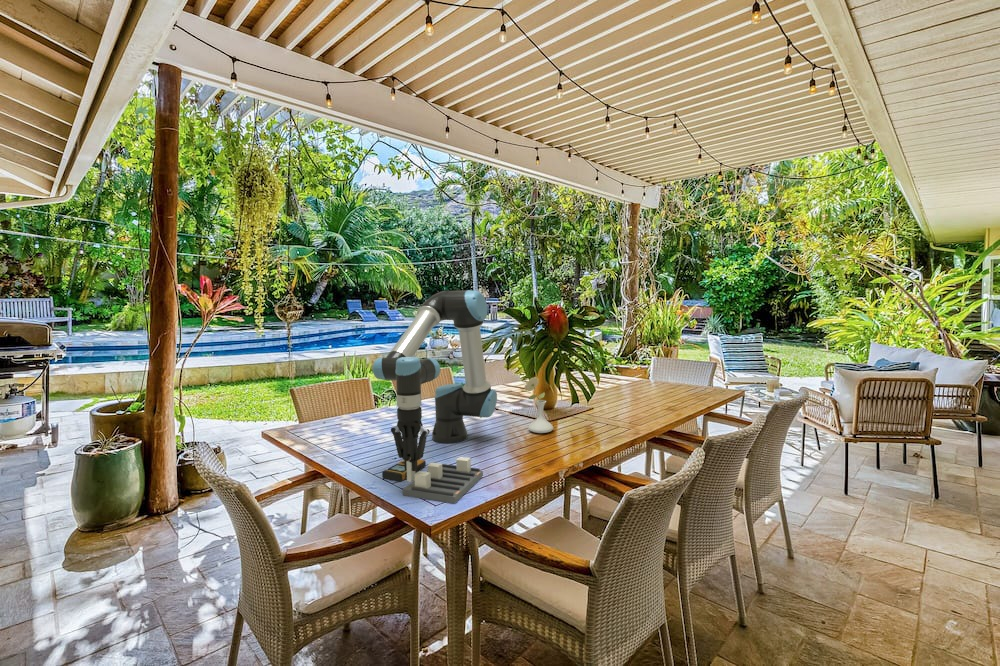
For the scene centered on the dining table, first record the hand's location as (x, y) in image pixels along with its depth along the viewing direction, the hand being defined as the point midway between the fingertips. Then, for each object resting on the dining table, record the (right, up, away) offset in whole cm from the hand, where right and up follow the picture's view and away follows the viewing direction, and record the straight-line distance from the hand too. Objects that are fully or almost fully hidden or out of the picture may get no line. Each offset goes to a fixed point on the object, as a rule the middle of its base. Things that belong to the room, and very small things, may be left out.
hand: (411, 480), depth 152 cm
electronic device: (-5, -3, +17) cm, 18 cm away
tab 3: (+16, -1, +11) cm, 19 cm away
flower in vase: (+46, +2, +63) cm, 78 cm away
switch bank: (+10, -3, +5) cm, 12 cm away
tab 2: (+7, -1, +6) cm, 9 cm away
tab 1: (+4, -2, -1) cm, 5 cm away
